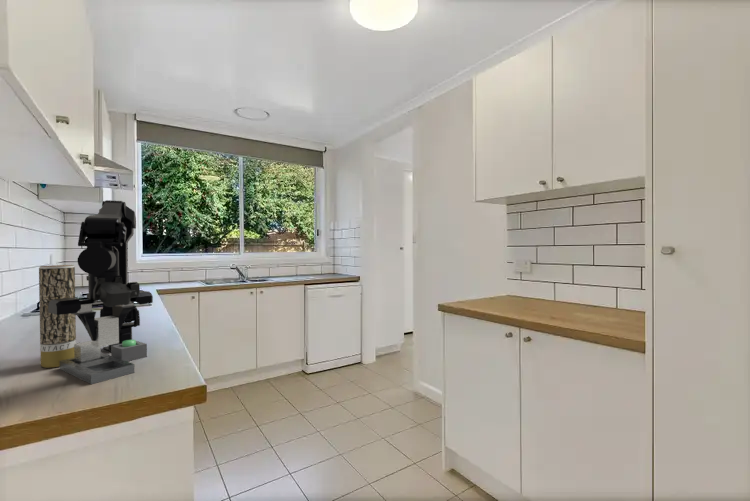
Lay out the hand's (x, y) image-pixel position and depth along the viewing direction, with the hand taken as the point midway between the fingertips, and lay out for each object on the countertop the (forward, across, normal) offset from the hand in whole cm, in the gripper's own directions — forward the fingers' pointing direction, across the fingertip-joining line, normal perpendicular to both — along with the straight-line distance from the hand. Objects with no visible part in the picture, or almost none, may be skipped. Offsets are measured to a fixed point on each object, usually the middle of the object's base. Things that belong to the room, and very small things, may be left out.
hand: (105, 338), depth 84 cm
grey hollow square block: (+8, +9, +9) cm, 15 cm away
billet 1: (+8, 0, +10) cm, 13 cm away
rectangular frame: (+8, 0, +5) cm, 10 cm away
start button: (+6, +9, +9) cm, 14 cm away
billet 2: (+1, 0, 0) cm, 1 cm away
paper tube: (+9, -3, +19) cm, 21 cm away
